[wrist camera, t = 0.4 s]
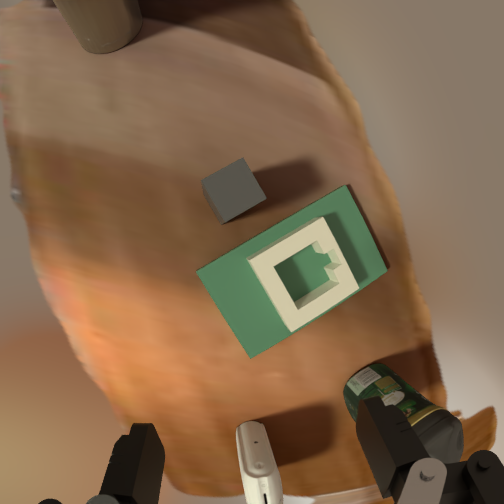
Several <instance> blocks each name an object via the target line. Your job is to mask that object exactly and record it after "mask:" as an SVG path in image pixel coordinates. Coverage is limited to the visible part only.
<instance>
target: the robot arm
mask: <svg viewBox="0 0 504 504" xmlns="http://www.w3.org/2000/svg"><path fill="white" fill-rule="evenodd" d="M53 1H54V3H55V5H56V6H57V8H58V9H59V11H60V13H61V14H62V16H63V17H64V19H65V20H66V22H67V23H68V25H69V27H70V28H71V30H72V31H73V33H74V35H75V36H76V38H77V39H78V41H79V42H80V44H81V45H82V47H83V48H84V49H85V50H87V51H88V52H91V53H95V54H103V53H109V52H112V51H115V50H117V49H120V48H122V47H123V46H125V45H126V44H128V43H129V42H130V41H131V40H133V39H134V37H135V36H136V35H137V34H138V32H139V31H140V29H141V26H142V15H141V11H140V8H139V4H138V0H53ZM356 432H357V437H358V439H359V442H360V444H361V446H362V449H363V451H364V454H365V456H366V458H367V461H368V463H369V465H370V468H371V470H372V473H373V475H374V477H375V480H376V482H377V485H378V487H379V490H380V492H381V494H382V497H383V499H384V498H387V497H390V496H392V497H393V500H394V504H504V466H503V464H502V463H501V461H500V460H499V458H498V457H497V455H496V454H494V453H493V452H491V451H488V450H480V451H477V452H475V453H473V454H472V455H471V456H470V457H469V459H468V461H463V462H456V463H448V464H447V463H442V462H441V461H440V460H438V459H435V458H431V457H430V455H429V454H428V452H427V451H426V449H425V447H424V446H423V444H422V442H421V441H420V439H419V437H418V436H417V434H416V432H415V431H414V429H412V426H411V424H410V422H408V419H407V418H406V416H405V414H404V413H403V411H402V410H400V409H399V408H398V407H396V406H395V405H393V404H391V405H387V406H385V404H384V402H383V400H382V399H381V397H380V396H379V395H376V396H372V397H369V398H364V399H361V400H360V401H359V406H358V413H357V420H356ZM164 462H165V451H164V447H163V445H162V442H161V440H160V438H159V436H158V434H157V432H156V429H155V427H154V425H153V424H152V423H133V424H132V427H131V430H130V433H129V435H122V436H121V437H120V438H119V440H118V441H117V442H116V443H115V445H114V448H113V451H112V456H111V457H110V460H109V464H108V467H107V470H106V473H105V476H104V480H103V483H102V486H101V490H100V492H99V495H97V496H94V497H92V498H91V499H89V500H88V502H87V503H86V504H158V500H159V493H160V487H161V481H162V474H163V468H164ZM39 504H62V503H61V502H59V501H58V500H55V499H46V500H43V501H41V502H40V503H39Z"/></svg>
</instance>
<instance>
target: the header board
mask: <svg viewBox="0 0 504 504" xmlns="http://www.w3.org/2000/svg"><path fill="white" fill-rule="evenodd" d="M385 272H387V268H386V266H385V264H384V262H383V260H382V257H381V255H380V253H379V251H378V249H377V246H376V244H375V242H374V240H373V238H372V236H371V234H370V232H369V230H368V228H367V226H366V224H365V222H364V220H363V217H362V215H361V214H360V212H359V210H358V208H357V206H356V204H355V202H354V200H353V198H352V196H351V194H350V192H349V190H348V188H347V187H346V185H343V186H341V187H339V188H337V189H336V190H334V191H332V192H330V193H329V194H327V195H325V196H323V197H322V198H320V199H318V200H316V201H315V202H313V203H311V204H309V205H308V206H306V207H304V208H303V209H301V210H299V211H297V212H296V213H294V214H292V215H290V216H289V217H287V218H285V219H283V220H282V221H280V222H278V223H277V224H275V225H273V226H271V227H270V228H268V229H266V230H265V231H263V232H261V233H259V234H258V235H256V236H254V237H253V238H251V239H249V240H247V241H246V242H244V243H242V244H241V245H239V246H237V247H235V248H234V249H232V250H230V251H229V252H227V253H225V254H223V255H222V256H220V257H218V258H217V259H215V260H213V261H212V262H210V263H208V264H206V265H205V266H203V267H201V268H200V269H198V270H196V273H197V274H198V276H199V278H200V279H201V281H202V283H203V284H204V286H205V288H206V289H207V291H208V292H209V294H210V296H211V297H212V299H213V301H214V302H215V304H216V305H217V307H218V309H219V310H220V312H221V313H222V315H223V317H224V318H225V320H226V321H227V323H228V325H229V326H230V328H231V329H232V331H233V332H234V334H235V336H236V337H237V339H238V340H239V342H240V343H241V345H242V346H243V348H244V349H245V351H246V353H247V354H248V356H249V357H250V359H251V358H253V357H255V356H256V355H258V354H260V353H261V352H263V351H265V350H267V349H268V348H270V347H272V346H273V345H275V344H277V343H278V342H280V341H282V340H283V339H285V338H287V337H288V336H290V335H292V334H293V333H295V332H297V331H298V330H300V329H301V328H303V327H305V326H306V325H308V324H309V323H311V322H313V321H314V320H316V319H317V318H319V317H320V316H322V315H324V314H325V313H327V312H328V311H330V310H331V309H333V308H334V307H336V306H337V305H339V304H340V303H342V302H343V301H345V300H346V299H348V298H349V297H351V296H352V295H354V294H355V293H357V292H358V291H360V290H361V289H363V288H364V287H365V286H367V285H368V284H370V283H371V282H373V281H374V280H375V279H377V278H378V277H380V276H381V275H383V274H384V273H385Z"/></svg>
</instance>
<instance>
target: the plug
mask: <svg viewBox="0 0 504 504" xmlns="http://www.w3.org/2000/svg"><path fill="white" fill-rule="evenodd" d="M201 183H202V189H203V194H204V196H205V198H206V199H207V201H208V203H209V205H210V206H211V208H212V210H213V212H214V213H215V215H216V217H217V219H218V220H219V222H220V224H221V225H222V224H224V223H226V222H227V221H229V220H231V219H232V218H234V217H236V216H238V215H239V214H241V213H243V212H245V211H246V210H248V209H250V208H252V207H253V206H255V205H257V204H258V203H260V202H262V201H264V200H265V199H267V198H266V196H265V194H264V193H263V191H262V189H261V187H260V186H259V184H258V182H257V180H256V179H255V177H254V175H253V174H252V172H251V170H250V168H249V167H248V165H247V163H246V162H245V160H244V158H241V159H239V160H237V161H235V162H233V163H232V164H230V165H228V166H226V167H224V168H222V169H221V170H219V171H217V172H215V173H213V174H212V175H210V176H208V177H206V178H204V179H203V180H201Z"/></svg>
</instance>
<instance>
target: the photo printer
mask: <svg viewBox="0 0 504 504" xmlns="http://www.w3.org/2000/svg"><path fill="white" fill-rule="evenodd" d="M236 441H237V450H238V457H239V464H240V470H241V475H242V481H243V486H244V492H245V497H246V501H247V504H283V492H282V484H281V478H280V474H279V471H278V468H277V465H276V462H275V458H274V455H273V452H272V449H271V446H270V442H269V439H268V436H267V432H266V429H265V427H264V425H263V424H262V423H261V424H260V423H259V422H256V421H248V422H245V423H242V424H241V425H240V426H239V427H237V430H236Z"/></svg>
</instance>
